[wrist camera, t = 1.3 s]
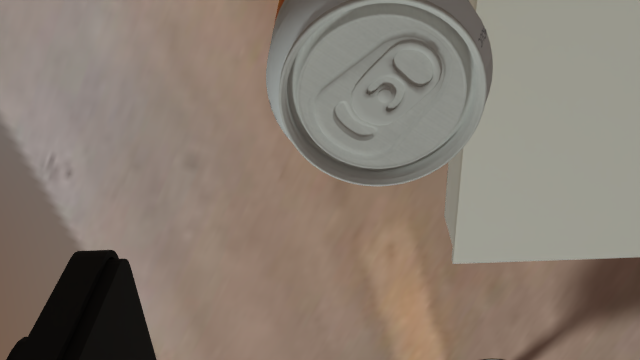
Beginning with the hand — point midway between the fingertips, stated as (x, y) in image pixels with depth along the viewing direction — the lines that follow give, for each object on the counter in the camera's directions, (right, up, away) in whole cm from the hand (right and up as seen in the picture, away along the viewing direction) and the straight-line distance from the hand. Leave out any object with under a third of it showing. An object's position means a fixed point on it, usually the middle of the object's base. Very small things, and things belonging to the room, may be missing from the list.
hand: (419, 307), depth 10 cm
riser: (+11, +6, +22) cm, 26 cm away
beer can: (0, +12, +18) cm, 22 cm away
